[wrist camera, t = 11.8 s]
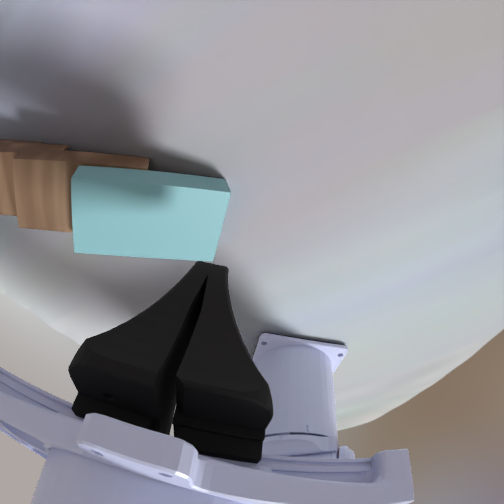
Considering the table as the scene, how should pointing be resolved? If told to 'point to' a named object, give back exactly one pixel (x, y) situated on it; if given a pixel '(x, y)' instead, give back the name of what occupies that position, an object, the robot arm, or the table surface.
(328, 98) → the table surface
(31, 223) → the domino
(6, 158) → the domino
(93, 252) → the domino
